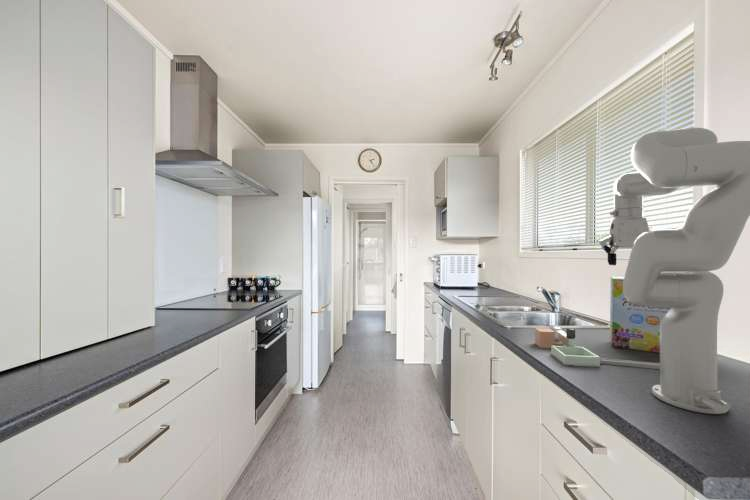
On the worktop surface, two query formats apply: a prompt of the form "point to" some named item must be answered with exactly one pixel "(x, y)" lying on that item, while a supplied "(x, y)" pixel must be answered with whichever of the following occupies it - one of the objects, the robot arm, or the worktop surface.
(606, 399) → the worktop surface
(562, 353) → the tray
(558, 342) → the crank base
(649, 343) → the snack box
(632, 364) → the adjustable wrench
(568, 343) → the crank
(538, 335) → the block
